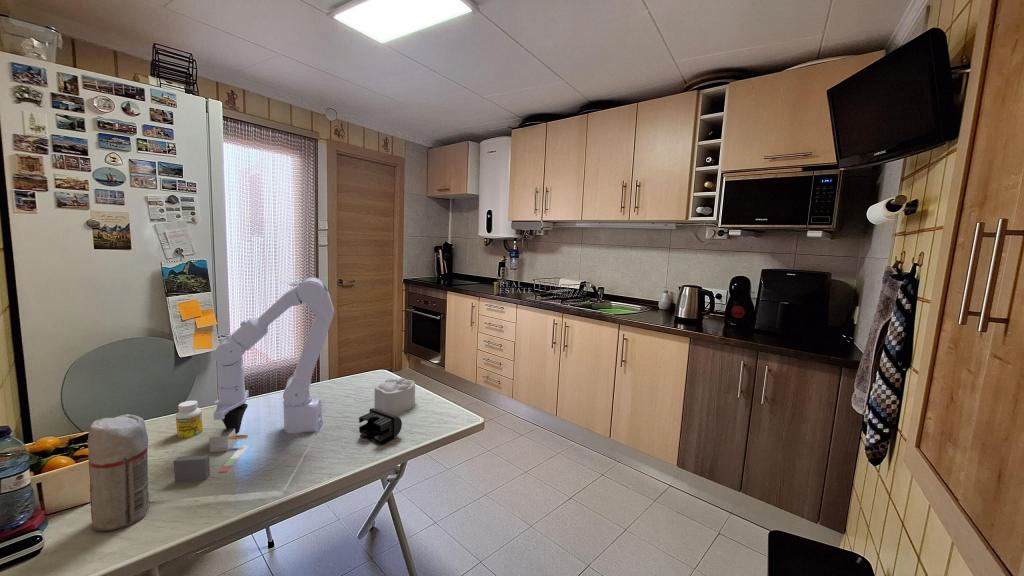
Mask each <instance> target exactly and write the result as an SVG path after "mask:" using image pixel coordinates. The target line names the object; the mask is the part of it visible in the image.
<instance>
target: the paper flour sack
mask: <svg viewBox="0 0 1024 576" xmlns="http://www.w3.org/2000/svg"><path fill="white" fill-rule="evenodd" d="M87 437H88V438H87V449H88V450H87V451H88V454H87V455H88V472H89V473H88V474H89V493H90V494H89V496H90V500H89V501H90V504H89V505H90V510H91V511H90V514H91V515H90V517H91V523H92V524H91V530H92V531H96V532H105V531H106V532H107V531H112V530H118V529H121V528H122V529H123V528H125V527H129V526H130V525H132V524H134V523H136V522H139V521H140V520H142V519H143V518H144V517H145V516H146V514H148V511H149V509H150V506H149V505H150V501H149V499H150V498H149V497H150V496H149V494H150V492H149V474H148V473H149V472H148V470H149V468H148V467H149V465H148V463H149V461H148V457H149V456H148V449H149V448H148V446H149V435H148V433H147V427H146V422H145V419H144V418H142V417H140V416H138V415H134V414H128V413H127V414H122V415H117V416H115V417H103V418H100V419H96V420H94V421H93V422H92V423H91V424H90V426H89V431H88V436H87Z"/></svg>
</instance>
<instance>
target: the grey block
mask: <svg viewBox="0 0 1024 576" xmlns="http://www.w3.org/2000/svg"><path fill="white" fill-rule="evenodd" d="M248 436H249V435H248V434H239V435H237V434H235V428H232V429H226V428H218V429H216V430H215V431H214V432H213V433H212V434H211V435H209V436H208V439H209V440H208V441H209V452H210V453H214V452H215V453H219V452H229V451H230V450H231V449H232V447H233V446H234V445H235V444H236V443H237V440H244V439H247V438H248Z"/></svg>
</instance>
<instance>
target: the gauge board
mask: <svg viewBox="0 0 1024 576" xmlns="http://www.w3.org/2000/svg"><path fill="white" fill-rule="evenodd" d="M249 447H250V445H241V446H240V447H239V448H237V449H236V451H235V452H234V453H233V455H232V456H231V457H230V458H229V459H228V460H227V461H226V462H225V463H224V465H223V466H222V467H221V468H220V469H219V470H218V471H217V473H219V474H220V473H227V472H229V470H230V469H231V468H232V466H234V464H235V463H236V462H237V461H238V460H239V459H240V457H241V456H242V455H243V453H245V451H246V450H247V449H248V448H249ZM210 470H211V469H210V455H209V454H208V455H207V454H206V455H205V454H204V455H194V456H191V455H190V456H179V457H178V456H177V458H175V459H174V460H173V472H174V482H175V483H179V482H183V483H184V482H192V481H193V482H196V481H197V482H198V481H206V480H208V479H209V477H211V471H210Z"/></svg>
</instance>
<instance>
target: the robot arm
mask: <svg viewBox="0 0 1024 576" xmlns="http://www.w3.org/2000/svg"><path fill="white" fill-rule="evenodd" d="M303 303H304V304H306V305H307V306H308V307H309V308H310V309H311V311H312V312H313V314H314V318H313V321H312V323H311V327H310V329H309V332H308V335H307V336H306V341H305V343H304V346H303V348H302V351H301V353H300V357H299V359H298V362H297V364H296V367H295V369H294V371H293V374H292V375H291V376H290V377H289V378H288V379H287V380H286V386H285V389H284V391H283V393H282V398H283V401H282V403H283V404H282V405H283V428H284V429H283V430H284V432H285V433H288V434H300V433H306V432H309V433H310V432H315V433H314V435H313V436H314V437H315V436H317V434H318V432H319V430H320V428H321V427H322V425H323V423H324V422H323V405H322V400H321V399H316V398H313V396H312V395H311V393H310V390H311V389H310V387H311V384H312V377H313V374H314V371H315V368H316V365H317V362H318V361H319V357H320V354H321V350H322V348H323V346H324V342H325V339H326V336H327V335H328V333H329V332H328V331H329V329H330V326H331V324H332V321H333V318H334V315H335V307H334V304H333V302H332V298H331V295H330V293H329V289H328V287H327V285H325V283H324V282H323V281H322V280H321V279H319V278H318V277H313V276H310V277H307V278H305V279H303V280H302V281H301V283H300V284H299V283H298V284H296V285H295V286H293V287H291V289H289V290H288V291H286V292H285V293H284V294H283V295H282V296H280V297H279V298H278V299H277V300H276V301H275V302H274V303H273V304H272V305H271V306H270V307H268V308H267V310H266V311H264V312H263V313H262V314H261V315H260V316H259V317H256V318H254V317H251V318H249V319H247V320H246V319H244V320H243V321H241V322H240V324H239V327H238V328H237V329H236V330H235V331H234V332H232V334H228V335H227V336H225V340H223V341H222V342H220V344H219V345H218V346H217V347H216V349H215V350H214V353H213V358H214V360H215V361H216V363H217V364H216V365H217V370H216V372H217V373H216V374H217V387H218V388H217V390H218V391H217V393H218V399H216V400H215V401H213V405H214V406H216V409H215V410H214V412H213V420H214V421H217V420H218V421H220V420H221V421H222V423H223V424H224V426H225V427H224V428H225V429H232V428H235V435H237V434H239V432H240V430H241V426H242V421H243V417H244V414H245V413H246V410H247V409H248V403H246V402H247V398H249V397H250V394H249V392H250V391H249V389H246V387H245V384H246V382H245V365H244V360H243V359H244V357H243V356H244V354H245V353H246V351H249V350H250V349H252V348H253V347H254V346H255V345H256V344H257V343H258V342H259V341H261V340H262V339H263V338H264V337H265V336H266V335H267V334H268V332H269V326H270V325H271V324H272V323H273V322H274V321H275V320H277V319H278V318H279V317H280V316H282V315H283V314H284V313H285V312H286V311H287V310H289V309H290V308H291V307H296V306H300V305H303Z"/></svg>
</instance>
